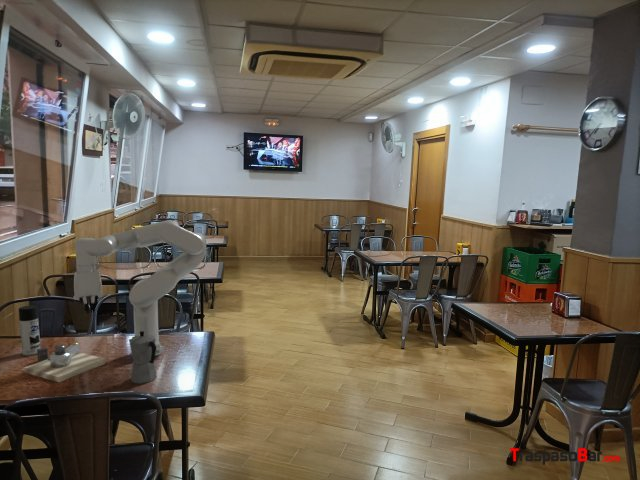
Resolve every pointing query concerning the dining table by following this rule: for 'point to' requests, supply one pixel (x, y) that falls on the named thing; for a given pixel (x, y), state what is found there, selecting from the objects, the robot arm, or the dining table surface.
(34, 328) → the spray can
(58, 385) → the dining table surface
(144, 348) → the coffeepot
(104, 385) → the dining table surface
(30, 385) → the dining table surface
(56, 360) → the crank
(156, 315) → the robot arm
